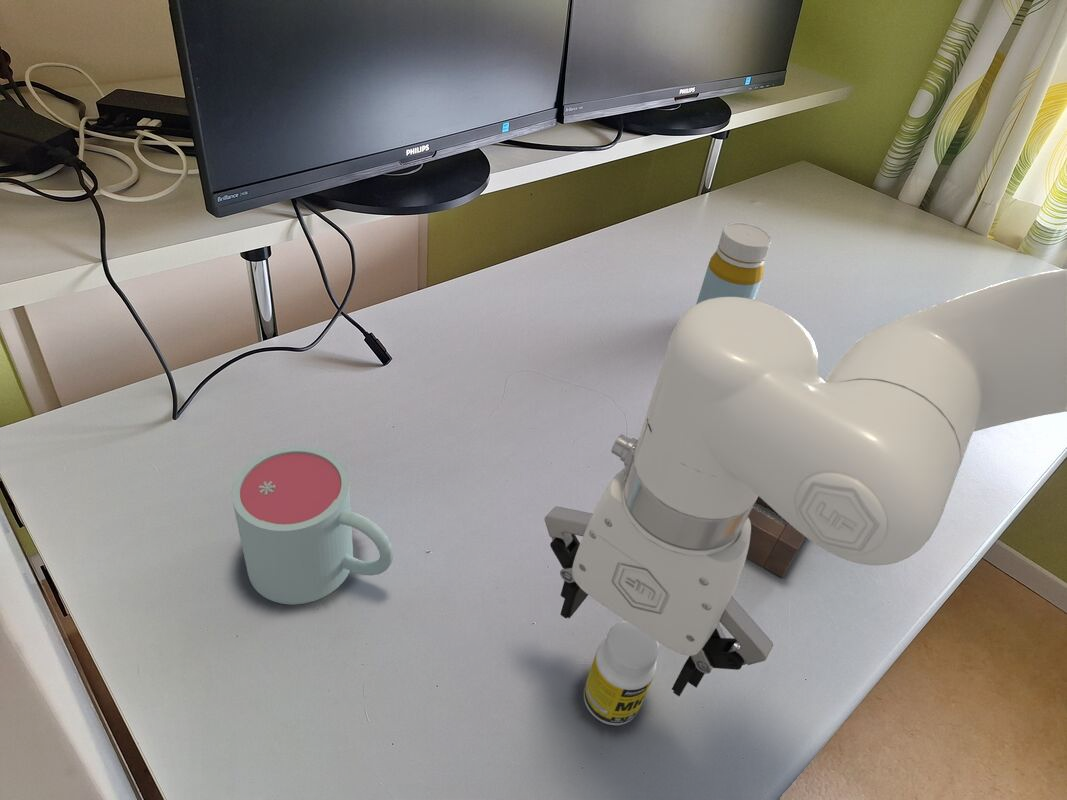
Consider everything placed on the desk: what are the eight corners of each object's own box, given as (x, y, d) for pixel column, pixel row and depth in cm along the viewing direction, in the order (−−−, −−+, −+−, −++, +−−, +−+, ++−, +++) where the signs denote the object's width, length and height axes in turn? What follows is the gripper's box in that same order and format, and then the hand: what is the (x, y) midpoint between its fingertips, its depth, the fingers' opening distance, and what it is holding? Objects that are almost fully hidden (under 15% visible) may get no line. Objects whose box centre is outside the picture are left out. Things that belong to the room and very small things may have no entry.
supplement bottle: (610, 738, 60) (631, 685, 54) (571, 692, 62) (588, 636, 57) (652, 704, 62) (676, 650, 57) (612, 661, 65) (633, 605, 59)
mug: (225, 582, 66) (206, 507, 60) (286, 508, 73) (275, 433, 67) (366, 638, 64) (363, 566, 57) (415, 556, 71) (417, 484, 64)
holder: (838, 478, 85) (853, 449, 82) (782, 578, 74) (798, 549, 71) (757, 437, 89) (770, 408, 86) (692, 526, 77) (704, 497, 75)
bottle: (712, 310, 108) (743, 215, 98) (750, 336, 105) (786, 240, 95) (679, 325, 105) (708, 228, 95) (717, 352, 101) (752, 254, 91)
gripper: (536, 453, 46) (506, 609, 58) (801, 613, 40) (709, 753, 52) (599, 394, 51) (560, 548, 63) (844, 529, 45) (751, 673, 56)
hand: (627, 641), depth 57 cm, fingers open, 9 cm apart
